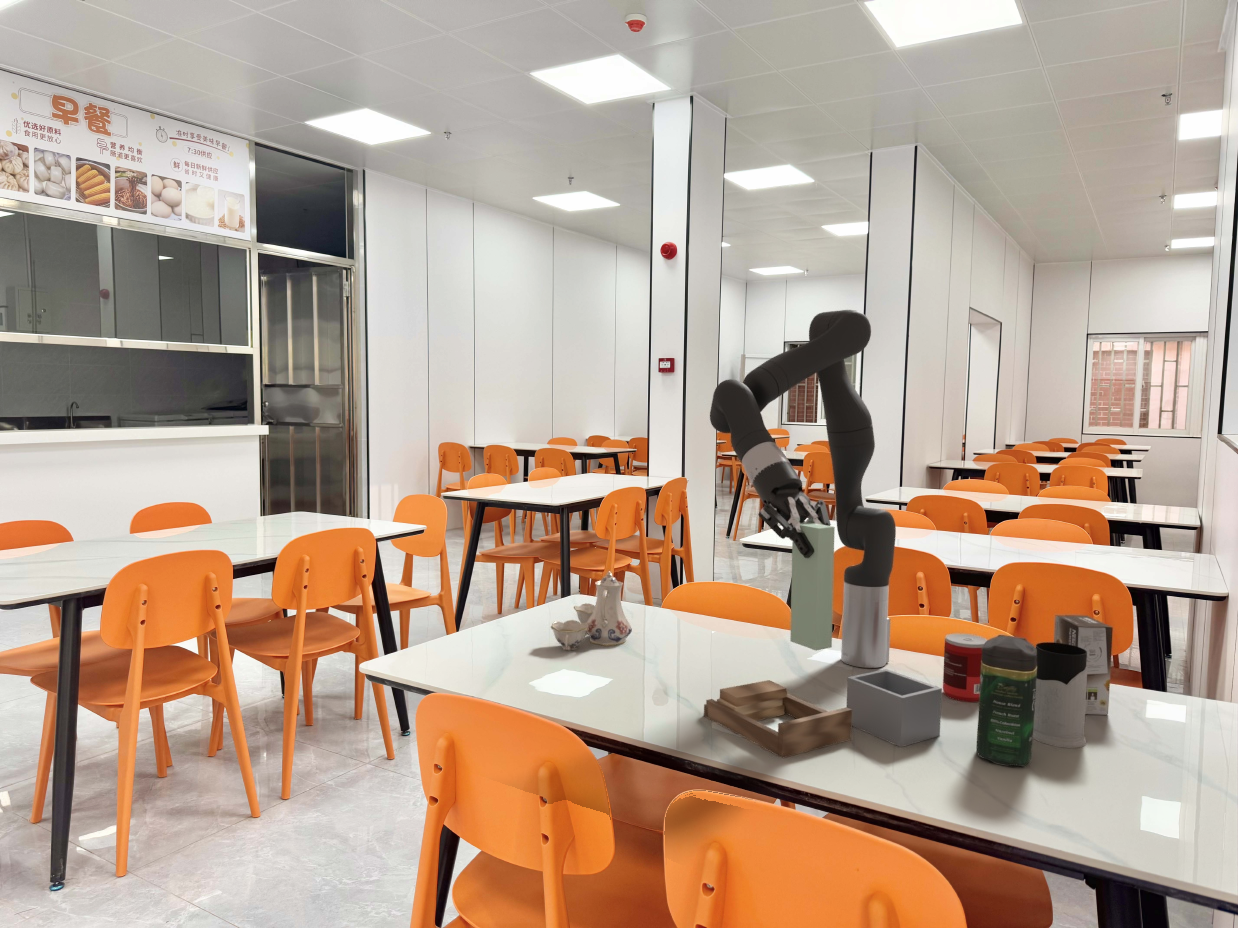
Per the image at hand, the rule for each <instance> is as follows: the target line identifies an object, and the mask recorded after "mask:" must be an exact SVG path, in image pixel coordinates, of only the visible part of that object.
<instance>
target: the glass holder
mask: <svg viewBox="0 0 1238 928" xmlns="http://www.w3.org/2000/svg"><path fill="white" fill-rule="evenodd" d="M1035 648H1036V649H1037V680H1036V700H1035V713H1034V726H1033V740H1035V741H1037V742H1039V743H1043V744H1045V745H1049V746H1054V747H1058V748H1059V747H1060V748H1065V749H1067V748H1068V749H1074V748H1075V749H1076V748H1077V749H1078V748H1082V747H1085V746H1087V738H1086V737H1085V720H1086V719H1085V718H1086V714H1085V703H1086V685H1087V667H1086V663H1087V651H1086V650H1085V649H1083V648H1080V647H1077V646H1073V645H1069V644H1063V643H1054V641H1053V642H1051V641H1050V642H1046V641H1045V642H1038V643H1036V644H1035Z"/></svg>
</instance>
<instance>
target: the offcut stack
mask: <svg viewBox="0 0 1238 928" xmlns="http://www.w3.org/2000/svg"><path fill="white" fill-rule="evenodd" d="M787 694H788V687H786V686H783V685H782V684H779V683H777V682H774V681H772V680H768V679H767V680H763V681H757V682H751V683H747V684H741V685H736V686H735V685H734V686H730V687H725V688H720V689H719V698H717V699H716V701H717V702H719V703H721V704H723V705H725V706H727V707H729V708H731V709H733V710H735V711H737V712H739V713H741V714H743V715H745V716H747V717H749V718H751V719H753V720H755V721H757V722H759V721H762V720H767V719H770V718H771V719H772V718H775V717H779V716H783V715H785V713H784V705H782V702H783V698H784V697H787Z"/></svg>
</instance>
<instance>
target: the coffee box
mask: <svg viewBox="0 0 1238 928" xmlns="http://www.w3.org/2000/svg"><path fill="white" fill-rule="evenodd" d="M1113 628H1114V627H1113V626H1111V625H1108V624H1107V623H1104V622H1102V621H1099V620H1097V619H1095V618H1093V617H1091V616H1088V615H1084V614H1082V615H1081V614H1064V615H1063V614H1062V615H1061V614H1054V635H1053V636H1054V638H1053V642H1054V643H1063V644H1069V645H1073V646H1077V647H1080V648H1083V649H1085V650H1086V651H1087V663H1086V667H1087V685H1086V703H1085V715H1101V716H1103V715H1104V716H1107V715H1109V709H1110V708H1109V705H1110V685H1111V669H1112V667H1111V665H1112V651H1113V650H1112V648H1113Z"/></svg>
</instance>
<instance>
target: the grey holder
mask: <svg viewBox="0 0 1238 928" xmlns="http://www.w3.org/2000/svg"><path fill="white" fill-rule="evenodd" d="M846 686H847V689H846V707H847V708H849V709H852V722H851V727H854V728H857V729H859V730H861V731H864V732H866V733H868V734H870V735H871V736H875V737H877V738H879V739H882V740H884V741H886V742H889V743H890V744H893V745H895V746H897V747H900V748H902V747H905V746H908V745H912V744H916V743H920V742H923V741H926V740H930V739H933V738H937V737H940V736H941V719H942V718H941V715H942V696H943V695H942V692H943V687H939V686H936V685H933V684H930V683H927V682H924V681H923V680H922V681H921V680H918V679H916V678H912V677H909V676H907V675H905V674H901V673H899V672H895V671H893V670H889V669H887V668H885V669H879V670H876V671H871V672H866V673H862V674H856V675H852V676H848V677H847V685H846Z"/></svg>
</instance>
